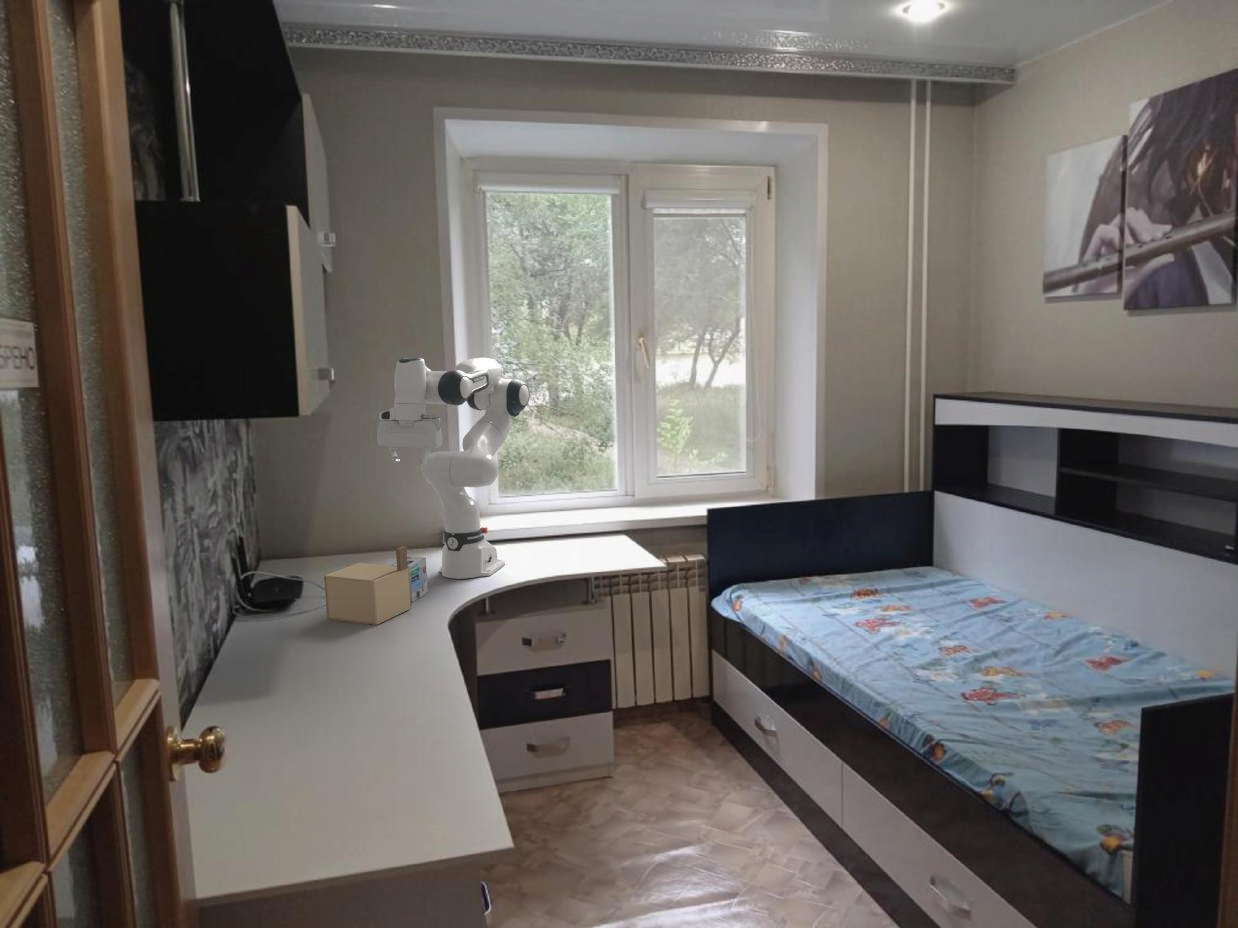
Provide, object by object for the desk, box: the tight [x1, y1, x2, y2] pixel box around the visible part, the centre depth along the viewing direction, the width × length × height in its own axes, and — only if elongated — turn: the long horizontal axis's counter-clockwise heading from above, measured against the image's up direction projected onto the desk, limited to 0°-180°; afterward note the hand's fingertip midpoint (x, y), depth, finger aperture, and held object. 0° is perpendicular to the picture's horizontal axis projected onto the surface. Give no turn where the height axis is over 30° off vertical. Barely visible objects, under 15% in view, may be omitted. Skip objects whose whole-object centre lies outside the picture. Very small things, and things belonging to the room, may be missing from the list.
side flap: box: [373, 545, 411, 625], centre depth 226 cm, size 14×1×18 cm, turn 157°
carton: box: [323, 562, 397, 626], centre depth 230 cm, size 14×16×12 cm
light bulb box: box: [389, 556, 429, 603], centre depth 245 cm, size 11×7×11 cm, turn 168°
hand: (409, 463), depth 241 cm, fingers open, 8 cm apart
